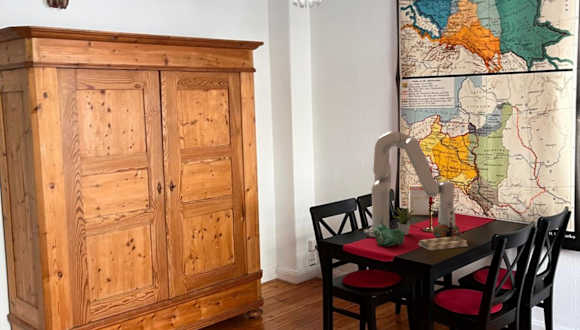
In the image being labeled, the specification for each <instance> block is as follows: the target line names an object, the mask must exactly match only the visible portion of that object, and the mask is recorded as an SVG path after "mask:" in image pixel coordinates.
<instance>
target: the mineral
mask: <svg viewBox="0 0 580 330" xmlns="http://www.w3.org/2000/svg"><path fill="white" fill-rule="evenodd" d="M373 231H374V235H375V237H374V238H375V241H376V243H377V244H378V245H379V246H381V247H382V246H383V247H391V246H399V245H403V244H404V241H405V235H404V233H403V232H402V231H401V230H400V229H399V228H394V229H391V228H389V229H388V228H387V227H386V226H385V225H384V224H380V225H378V226H377V227H376V228H374V230H373Z"/></svg>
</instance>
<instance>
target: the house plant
mask: <svg viewBox="0 0 580 330" xmlns="http://www.w3.org/2000/svg"><path fill="white" fill-rule="evenodd" d="M396 208H397V210H396V209H394V212H396V214H397V215H398V216H394V218H395V219H396V218H397V219H399V222H397V226H398V228H397V229H400V230H401V231H402V232H403V233H404V236H407V235H409V233H410V227H411V223H410V222H409V221H410V220H414V216H415V215H410V214H411V213H414V212H413V210H412V211H411V212H409V205H407V206H406V209H404V206H401V208H402V209H399V207H396ZM415 210H416V209H415Z"/></svg>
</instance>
